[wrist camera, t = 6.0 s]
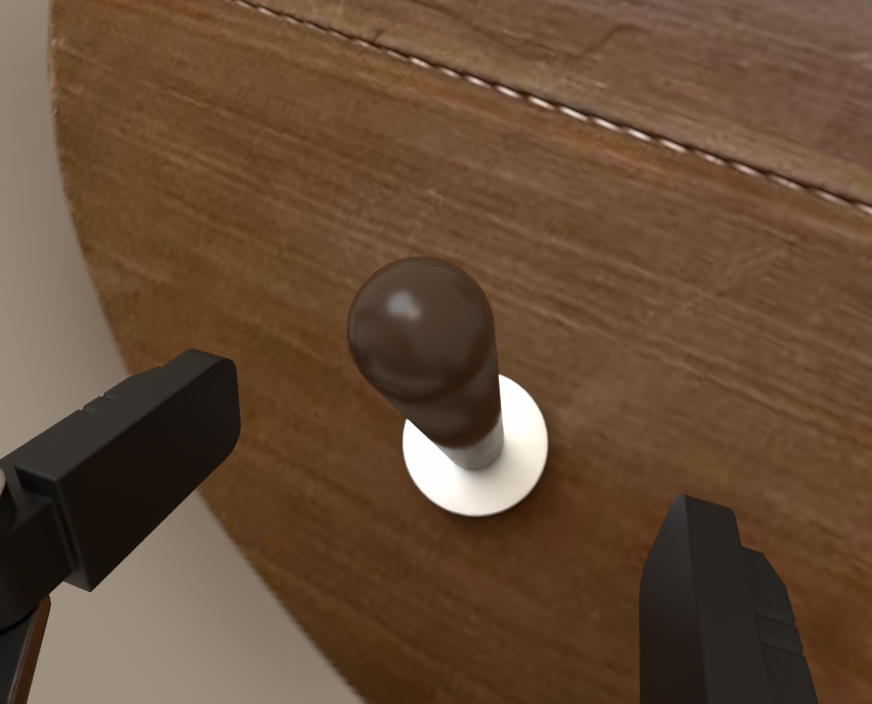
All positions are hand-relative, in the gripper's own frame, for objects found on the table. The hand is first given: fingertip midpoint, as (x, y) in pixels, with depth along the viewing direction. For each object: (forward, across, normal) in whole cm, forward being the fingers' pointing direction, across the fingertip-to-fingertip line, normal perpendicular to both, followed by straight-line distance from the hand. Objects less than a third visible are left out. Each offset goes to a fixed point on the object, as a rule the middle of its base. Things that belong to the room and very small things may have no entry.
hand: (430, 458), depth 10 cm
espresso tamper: (+7, 0, +5) cm, 8 cm away
